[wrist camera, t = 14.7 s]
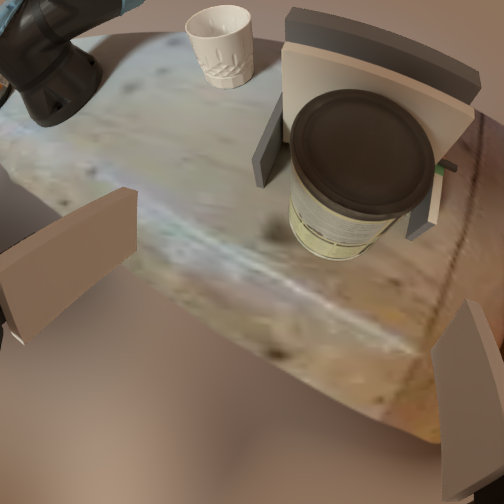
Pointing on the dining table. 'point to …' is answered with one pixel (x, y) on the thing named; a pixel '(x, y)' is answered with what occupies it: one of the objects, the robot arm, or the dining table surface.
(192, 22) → the white cup
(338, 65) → the curved beige panel
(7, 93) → the supplement container
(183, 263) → the dining table surface
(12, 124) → the dining table surface
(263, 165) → the grey u-shaped holder
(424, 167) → the coffee can
